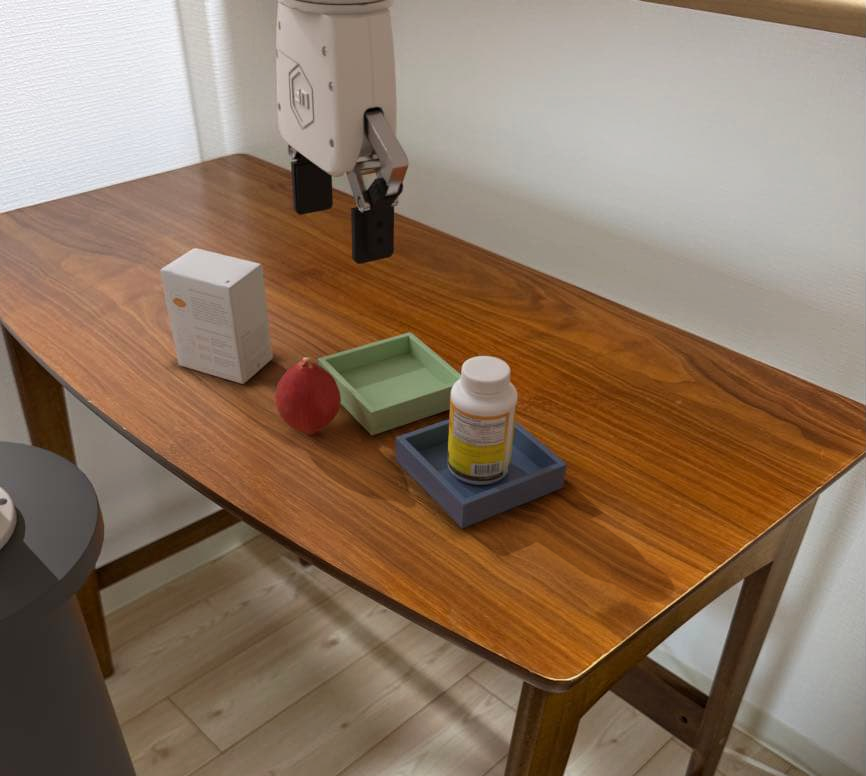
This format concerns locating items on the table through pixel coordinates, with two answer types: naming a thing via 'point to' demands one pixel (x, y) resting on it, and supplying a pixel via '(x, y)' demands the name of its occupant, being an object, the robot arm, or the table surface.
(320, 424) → the onion
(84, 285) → the table surface
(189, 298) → the small box
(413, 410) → the green tray
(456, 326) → the table surface
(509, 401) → the supplement bottle
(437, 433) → the slate tray
